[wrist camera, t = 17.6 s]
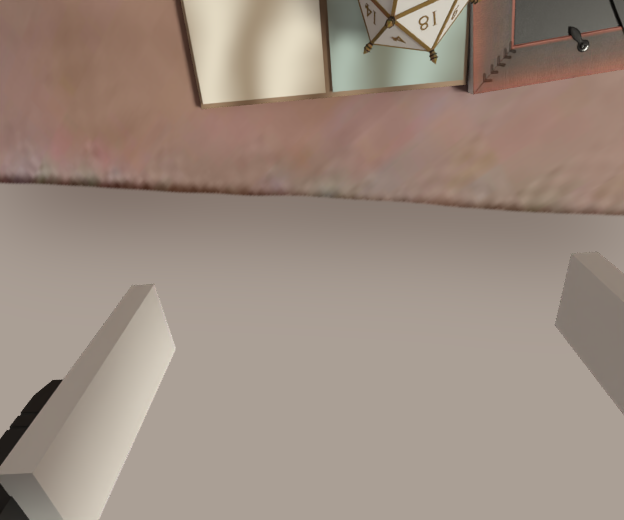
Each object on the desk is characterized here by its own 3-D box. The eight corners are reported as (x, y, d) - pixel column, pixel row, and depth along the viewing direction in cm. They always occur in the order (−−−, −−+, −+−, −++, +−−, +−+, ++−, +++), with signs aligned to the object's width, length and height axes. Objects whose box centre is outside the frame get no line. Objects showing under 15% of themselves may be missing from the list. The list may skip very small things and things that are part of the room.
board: (204, 107, 37) (200, 109, 36) (169, -77, 31) (163, -81, 30) (463, 84, 35) (466, 84, 34) (474, -119, 29) (479, -125, 28)
